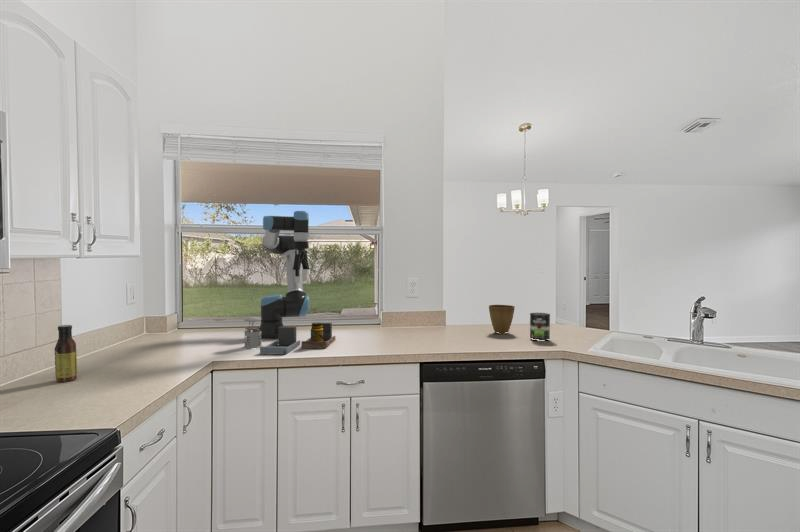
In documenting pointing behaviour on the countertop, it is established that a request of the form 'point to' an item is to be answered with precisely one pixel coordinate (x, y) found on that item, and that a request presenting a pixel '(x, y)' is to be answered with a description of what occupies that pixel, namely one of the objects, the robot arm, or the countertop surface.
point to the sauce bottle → (65, 355)
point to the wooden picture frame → (326, 338)
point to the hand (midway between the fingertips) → (301, 282)
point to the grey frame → (282, 342)
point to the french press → (252, 333)
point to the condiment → (316, 332)
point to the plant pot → (501, 317)
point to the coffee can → (540, 326)
